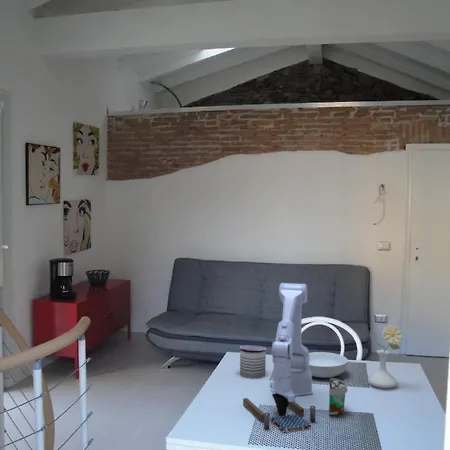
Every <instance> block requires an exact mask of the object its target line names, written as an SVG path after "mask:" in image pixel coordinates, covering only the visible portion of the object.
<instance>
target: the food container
mask: <svg viewBox="0 0 450 450" xmlns="http://www.w3.org/2000/svg"><path fill="white" fill-rule="evenodd" d="M328 390H329V394H328V395H329V399H328V401H329V403H328V409H329V410H328V417H330V418H331V417H340V416H342V415H343V414H344V412H345V401H346V399H345V398H346V393H347V392H348V387H347V384H346V382H345V381H343V380H341V379H339V378H334V377H329V389H328Z"/></svg>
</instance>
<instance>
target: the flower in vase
mask: <svg viewBox="0 0 450 450" xmlns="http://www.w3.org/2000/svg"><path fill="white" fill-rule="evenodd" d="M403 334H404V333H403V332H402V330H401V328H400V327H399V326H396V325H394V324H388V325H387V326H384V327H383V331H382V333H381V337H382V338H383V339H384V342H386V343H387V344H388V345H387V347H385V346H384V345H381V344H380V343H378V342H377V343H376V344H377V345H378V346H379V347H381V348H384V350H383V349H378V350H376V353H377V354H378V357H379V369H378V370H377V371H376V372H374V373H373V374H371V375H370V376H369V377H368V379H367V381H368V383H369V384H370V385H372V386H373V387H377V388H381V389H390V388H395V387H396V386H397V385H398V384H399V382H398V380H397V378H395V377H394V376H393V374H391V373H390V372H389V371H387V358H388V357H389V354H390V351H389V350H387V349H388V348H389V347H390V348H391V349H392V350H394V351H396V350H399V349H401V347H400V346H399V343H401V342H402V339H403V336H404V335H403Z"/></svg>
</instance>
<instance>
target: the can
mask: <svg viewBox="0 0 450 450" xmlns="http://www.w3.org/2000/svg"><path fill="white" fill-rule="evenodd" d="M239 348H240V349H239V352H240V354H239V356H240V357H239V360H240V361H239V376H240V377H242V378H245V379H251V380H257V379H263V378H265V377H266V367H267V366H266V360H267V359H266V351H267V348H266V347H265V346H262V345H261V346H260V345H252V344H251V345H249V344H248V345H240V346H239Z"/></svg>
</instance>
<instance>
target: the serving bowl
mask: <svg viewBox="0 0 450 450" xmlns="http://www.w3.org/2000/svg"><path fill="white" fill-rule="evenodd" d="M348 363H349V360H348V358H347V357H345V356H344V355H341V354H338V353H333V352H328V351H327V352H324V351H313V352H309V368H308V369H309V370H310V371H311V374H312V377H316V378H319V379H320V378H321V379H323V378H325V379H326V378H327V379H328V378H329V379H330V378H334V377H337V376H340V375H341V374H343V373H344V372H345V371H346V370H347V367H348Z"/></svg>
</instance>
